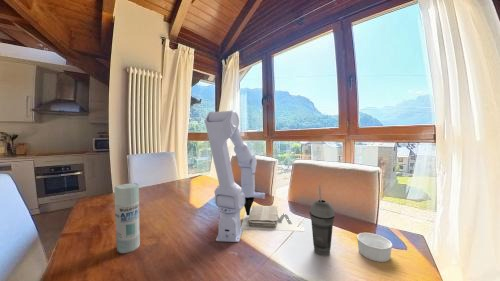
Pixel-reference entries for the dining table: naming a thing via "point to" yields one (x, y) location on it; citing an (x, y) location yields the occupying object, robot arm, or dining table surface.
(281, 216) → the placemat
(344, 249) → the dining table surface
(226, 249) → the dining table surface
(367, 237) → the ramekin
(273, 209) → the washcloth
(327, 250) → the beverage cup
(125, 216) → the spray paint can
